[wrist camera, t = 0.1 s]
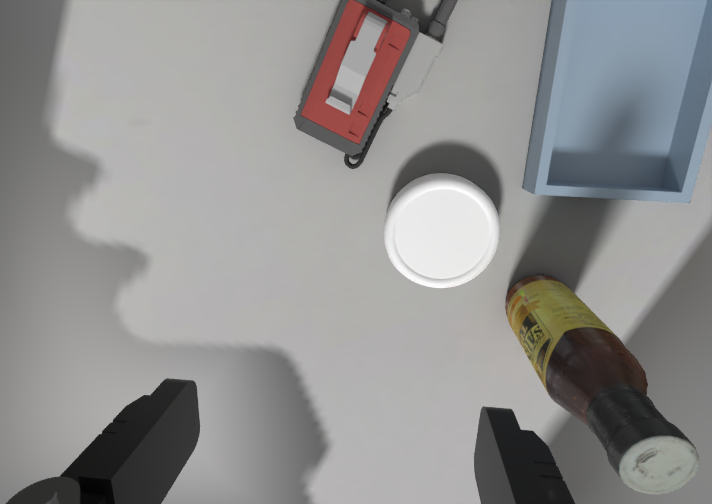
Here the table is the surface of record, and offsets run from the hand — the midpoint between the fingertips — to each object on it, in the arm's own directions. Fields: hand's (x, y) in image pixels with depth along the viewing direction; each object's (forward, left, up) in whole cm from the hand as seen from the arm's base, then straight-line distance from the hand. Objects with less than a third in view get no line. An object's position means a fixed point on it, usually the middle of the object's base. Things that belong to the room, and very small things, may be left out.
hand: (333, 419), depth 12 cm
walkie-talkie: (-14, 0, -30) cm, 33 cm away
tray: (-11, +19, -29) cm, 36 cm away
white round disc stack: (+1, +6, -30) cm, 30 cm away
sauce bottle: (+8, +16, -29) cm, 34 cm away
